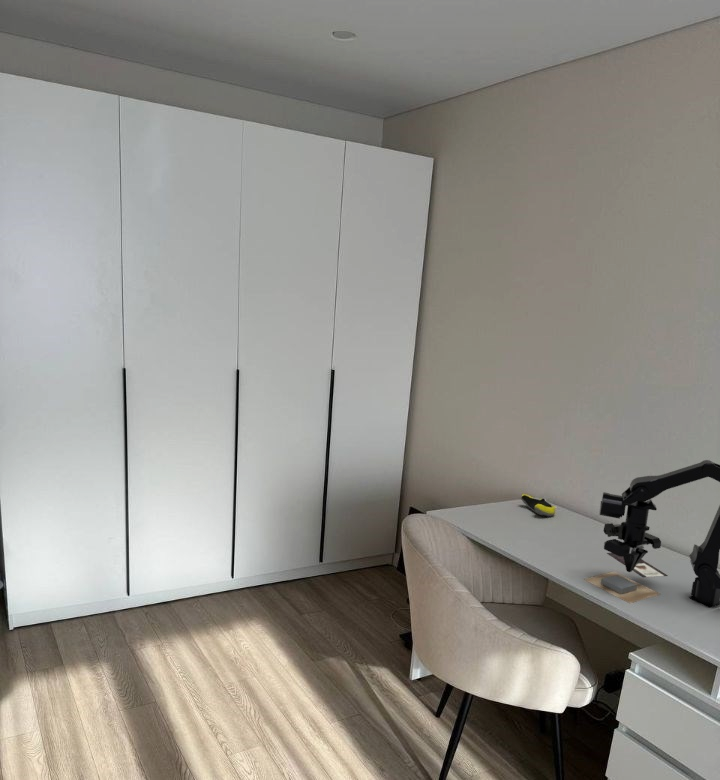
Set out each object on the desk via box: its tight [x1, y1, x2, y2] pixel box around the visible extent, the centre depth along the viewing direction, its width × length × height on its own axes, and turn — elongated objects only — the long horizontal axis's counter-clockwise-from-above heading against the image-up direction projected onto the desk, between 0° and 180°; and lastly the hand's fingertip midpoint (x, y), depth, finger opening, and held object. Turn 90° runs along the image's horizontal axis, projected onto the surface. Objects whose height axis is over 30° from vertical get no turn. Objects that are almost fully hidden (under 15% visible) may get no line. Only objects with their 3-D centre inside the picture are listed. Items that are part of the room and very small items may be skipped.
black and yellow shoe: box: [520, 493, 557, 518], centre depth 254 cm, size 15×6×10 cm
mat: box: [583, 571, 661, 604], centre depth 191 cm, size 16×14×1 cm
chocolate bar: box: [606, 552, 668, 578], centre depth 209 cm, size 9×1×18 cm
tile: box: [601, 575, 637, 594], centre depth 190 cm, size 7×2×7 cm
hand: (628, 571), depth 192 cm, fingers closed
